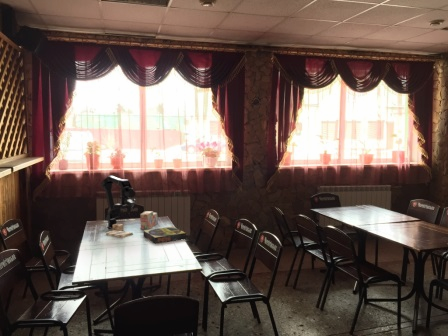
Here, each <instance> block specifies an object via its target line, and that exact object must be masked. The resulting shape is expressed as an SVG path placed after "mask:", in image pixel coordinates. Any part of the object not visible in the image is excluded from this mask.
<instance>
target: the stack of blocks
mask: <svg viewBox="0 0 448 336" xmlns="http://www.w3.org/2000/svg"><path fill="white" fill-rule="evenodd" d="M139 215H140V229H141V230H150V229H151V228H152V227H154V226H155V225H157V224H158V223H159V221H158V220H159V219H158V212H154V211H153V210H151V211H150V210H149V211H148V210H147V211H146V210H145V211H143V212H142V213H140V214H139Z"/></svg>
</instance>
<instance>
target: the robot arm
mask: <svg viewBox="0 0 448 336" xmlns="http://www.w3.org/2000/svg"><path fill="white" fill-rule="evenodd" d="M114 184H117V185H118V187H120V188H119V190H120V196H119V199H120V202H119V203H115V202H114V201H115V200H114V196H113V191H112V189H113V185H114ZM100 186H101V188H102V190H103V191H104V193H105V196H106V202H107V207H108V210H107V215H106V217H105V221H107V223H108V224H107V227H106V228H109V229H113V224H118V222H117V220H119V218H120V217H123V216H122V215H123V214H122V213H123V209H124V208H123V207H126V211H127V214H128V215H130V214H131V210H132V208H133V207H134V206H136V203H137V202H136V199H135V196H136V191H135V190H134V188H133V186H132V185H131V183H130V180H129V179H126V178H125V179H122V178H120V177H116V176H114V175H108V176H107V177H106V178H104V179H103V180H102V181H101V182H100Z"/></svg>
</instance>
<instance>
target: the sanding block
mask: <svg viewBox="0 0 448 336" xmlns="http://www.w3.org/2000/svg"><path fill="white" fill-rule="evenodd" d="M114 230H118V231H124V224H122V223H117V224H113V228H112V231H114Z"/></svg>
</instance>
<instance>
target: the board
mask: <svg viewBox="0 0 448 336" xmlns="http://www.w3.org/2000/svg"><path fill="white" fill-rule="evenodd" d="M132 235H134V233H133V232H129V231H124V230H123V231H118V230H114V231H113V230H110V231H108V232H105V236H111V237H115V238H116V237H118V238H122V239H123V238H127V237H130V236H132Z"/></svg>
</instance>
